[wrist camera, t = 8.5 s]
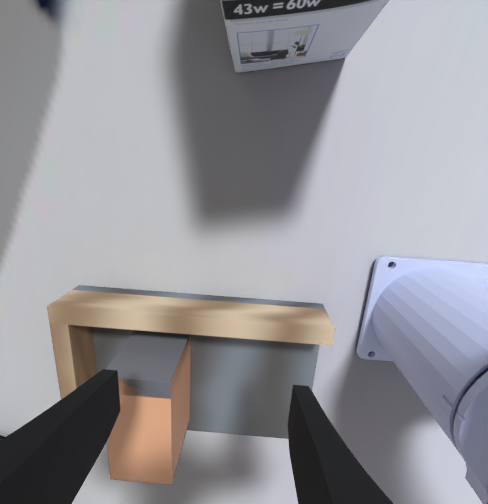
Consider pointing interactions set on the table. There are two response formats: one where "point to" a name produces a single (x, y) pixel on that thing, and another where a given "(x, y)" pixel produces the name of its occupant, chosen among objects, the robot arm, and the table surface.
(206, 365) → the corner arena
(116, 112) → the table surface
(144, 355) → the terracotta bar
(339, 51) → the light bulb box
